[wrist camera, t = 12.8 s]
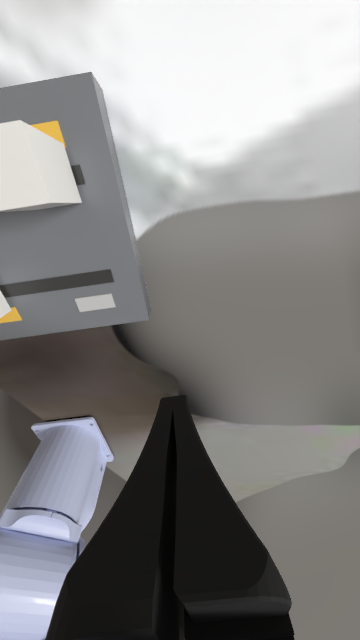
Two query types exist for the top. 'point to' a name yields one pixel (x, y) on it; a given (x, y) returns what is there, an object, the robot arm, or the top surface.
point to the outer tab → (33, 170)
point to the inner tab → (3, 306)
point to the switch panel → (70, 222)
